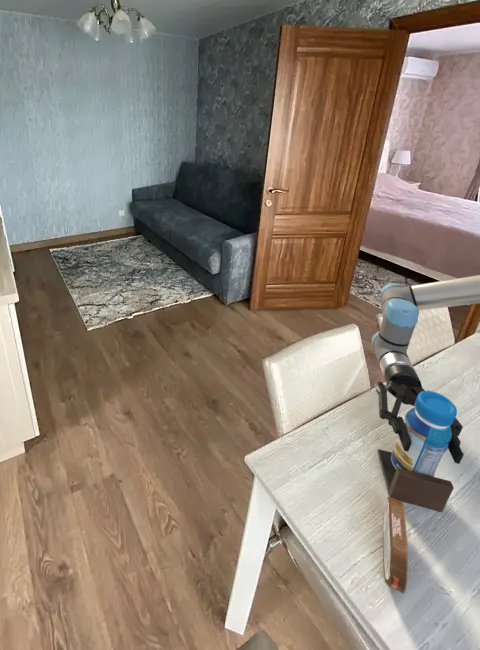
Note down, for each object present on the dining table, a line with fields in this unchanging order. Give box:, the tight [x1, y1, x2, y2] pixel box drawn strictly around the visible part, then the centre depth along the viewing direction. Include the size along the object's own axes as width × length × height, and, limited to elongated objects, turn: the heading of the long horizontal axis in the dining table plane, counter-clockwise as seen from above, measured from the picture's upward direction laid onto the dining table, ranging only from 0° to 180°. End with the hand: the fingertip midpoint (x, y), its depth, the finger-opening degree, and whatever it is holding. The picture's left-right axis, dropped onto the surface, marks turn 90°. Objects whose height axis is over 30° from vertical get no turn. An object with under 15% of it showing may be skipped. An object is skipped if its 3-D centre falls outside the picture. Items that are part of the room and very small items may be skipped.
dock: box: [376, 448, 454, 513], centre depth 78 cm, size 12×10×8 cm
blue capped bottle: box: [391, 390, 458, 477], centre depth 75 cm, size 8×8×20 cm
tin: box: [382, 496, 409, 594], centre depth 65 cm, size 15×3×8 cm, turn 152°
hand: (433, 452), depth 70 cm, fingers closed on blue capped bottle, 8 cm apart
